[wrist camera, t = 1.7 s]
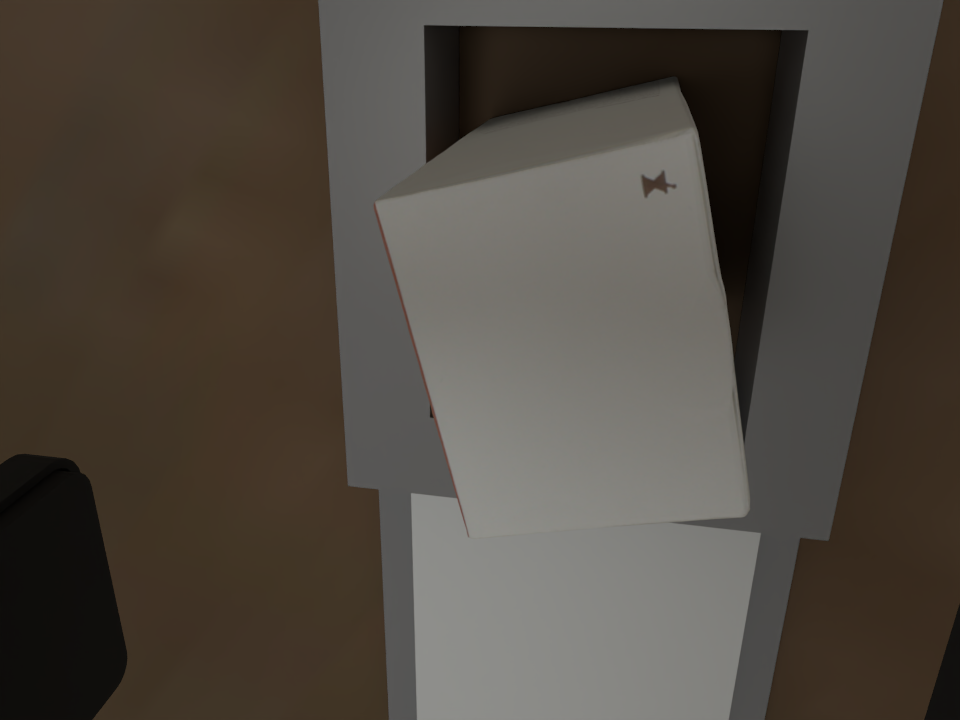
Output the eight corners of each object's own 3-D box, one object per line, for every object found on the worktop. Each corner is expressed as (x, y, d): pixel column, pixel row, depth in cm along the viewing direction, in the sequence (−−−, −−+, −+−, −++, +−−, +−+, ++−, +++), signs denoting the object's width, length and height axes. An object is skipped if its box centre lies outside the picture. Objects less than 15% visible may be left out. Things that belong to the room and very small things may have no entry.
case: (910, -85, 23) (966, -108, 19) (744, 782, 36) (756, 879, 32) (365, -81, 26) (312, -99, 22) (397, 725, 39) (367, 807, 35)
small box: (486, 117, 27) (363, 192, 15) (679, 71, 26) (705, 118, 14) (537, 339, 30) (464, 548, 18) (714, 311, 28) (761, 521, 17)
